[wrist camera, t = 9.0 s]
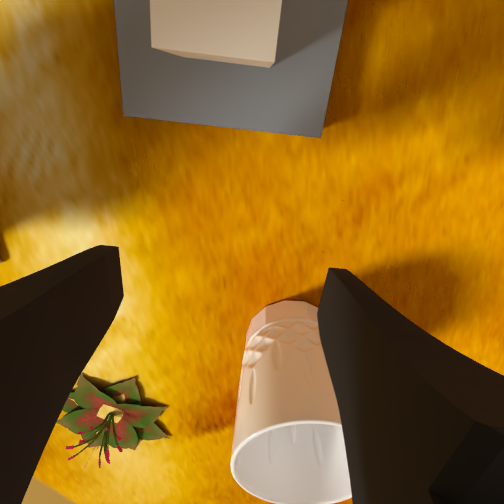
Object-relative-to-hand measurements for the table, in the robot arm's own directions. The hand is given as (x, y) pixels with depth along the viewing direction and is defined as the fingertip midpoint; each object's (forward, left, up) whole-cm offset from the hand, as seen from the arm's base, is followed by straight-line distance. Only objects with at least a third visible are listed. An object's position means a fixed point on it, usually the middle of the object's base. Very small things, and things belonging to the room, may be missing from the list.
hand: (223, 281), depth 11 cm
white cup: (+5, -11, -10) cm, 16 cm away
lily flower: (-10, -23, -11) cm, 27 cm away
